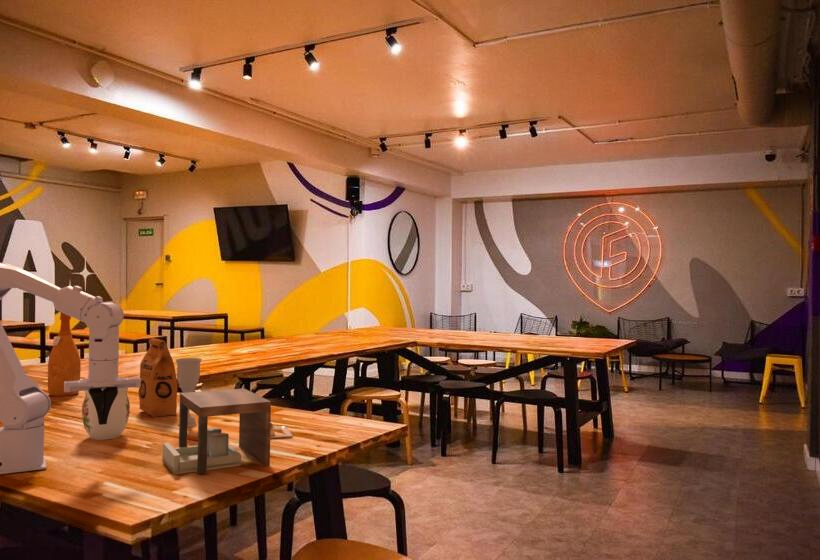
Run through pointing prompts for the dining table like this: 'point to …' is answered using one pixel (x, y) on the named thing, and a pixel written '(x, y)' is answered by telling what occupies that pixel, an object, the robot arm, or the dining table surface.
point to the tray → (187, 457)
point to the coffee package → (158, 381)
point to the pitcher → (115, 418)
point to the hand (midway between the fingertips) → (102, 423)
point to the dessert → (280, 428)
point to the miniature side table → (226, 403)
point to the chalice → (188, 379)
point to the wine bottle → (63, 360)
